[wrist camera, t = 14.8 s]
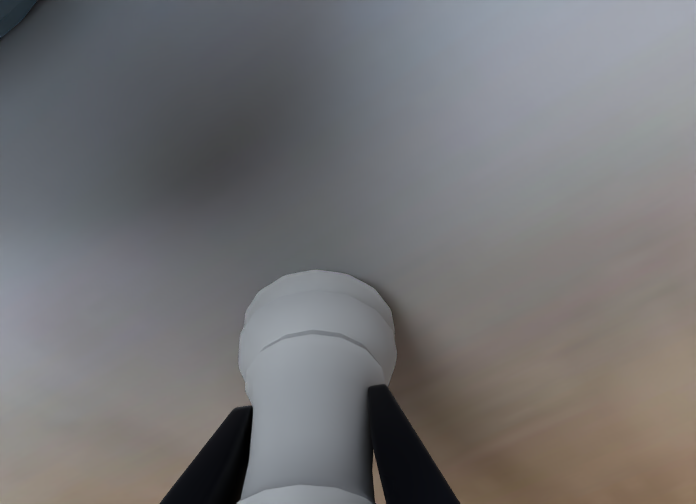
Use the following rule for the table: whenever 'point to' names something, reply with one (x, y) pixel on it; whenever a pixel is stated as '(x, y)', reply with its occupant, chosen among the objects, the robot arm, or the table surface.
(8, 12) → the pot
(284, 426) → the rook chess piece
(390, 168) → the table surface
